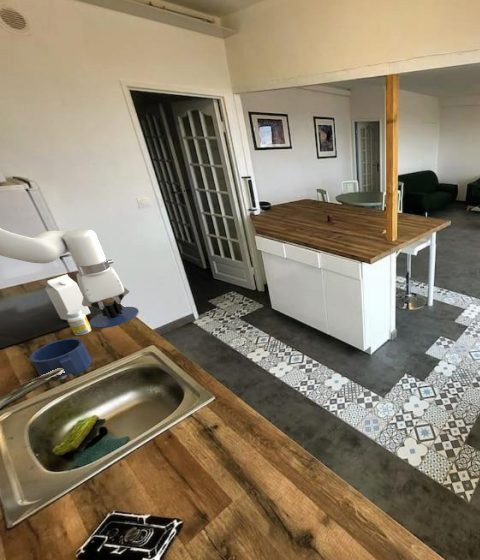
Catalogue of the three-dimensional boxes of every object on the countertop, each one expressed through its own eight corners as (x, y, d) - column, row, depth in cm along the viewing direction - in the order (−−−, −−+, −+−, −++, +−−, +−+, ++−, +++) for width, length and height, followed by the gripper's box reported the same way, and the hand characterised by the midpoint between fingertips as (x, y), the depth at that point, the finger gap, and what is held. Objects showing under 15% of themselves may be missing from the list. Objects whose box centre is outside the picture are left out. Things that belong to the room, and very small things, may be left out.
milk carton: (60, 319, 135) (40, 280, 127) (79, 311, 141) (60, 273, 133) (73, 321, 133) (53, 282, 125) (90, 313, 140) (73, 275, 131)
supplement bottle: (83, 336, 124) (73, 315, 120) (70, 335, 124) (60, 315, 120) (95, 328, 129) (86, 308, 125) (82, 328, 129) (73, 308, 125)
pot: (49, 391, 98) (36, 370, 94) (35, 368, 107) (23, 348, 103) (99, 369, 107) (90, 349, 104) (83, 350, 116) (73, 331, 113)
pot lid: (98, 334, 102) (90, 318, 99) (84, 321, 109) (77, 306, 106) (145, 316, 112) (140, 301, 110) (130, 305, 119) (125, 291, 116)
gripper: (119, 257, 110) (136, 302, 118) (56, 272, 98) (80, 321, 106) (127, 262, 106) (144, 308, 114) (63, 278, 94) (87, 328, 102)
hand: (113, 314), depth 110 cm, fingers closed on pot lid, 2 cm apart
